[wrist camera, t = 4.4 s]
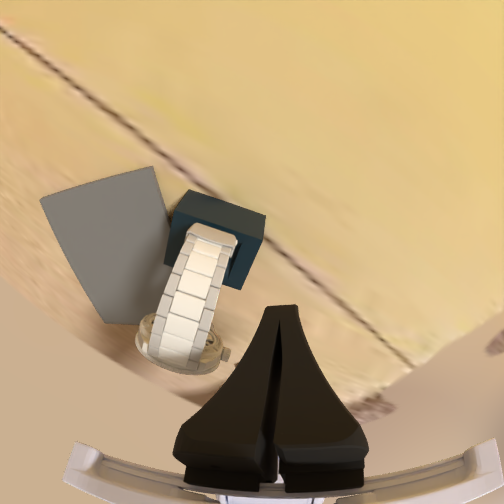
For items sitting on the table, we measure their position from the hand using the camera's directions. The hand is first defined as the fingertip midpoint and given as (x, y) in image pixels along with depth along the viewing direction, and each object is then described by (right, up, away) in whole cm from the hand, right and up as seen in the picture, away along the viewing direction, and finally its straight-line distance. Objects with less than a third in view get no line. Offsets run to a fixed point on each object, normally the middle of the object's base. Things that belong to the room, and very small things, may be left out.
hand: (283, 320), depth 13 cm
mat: (-13, +2, +11) cm, 17 cm away
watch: (-4, +5, +8) cm, 10 cm away
